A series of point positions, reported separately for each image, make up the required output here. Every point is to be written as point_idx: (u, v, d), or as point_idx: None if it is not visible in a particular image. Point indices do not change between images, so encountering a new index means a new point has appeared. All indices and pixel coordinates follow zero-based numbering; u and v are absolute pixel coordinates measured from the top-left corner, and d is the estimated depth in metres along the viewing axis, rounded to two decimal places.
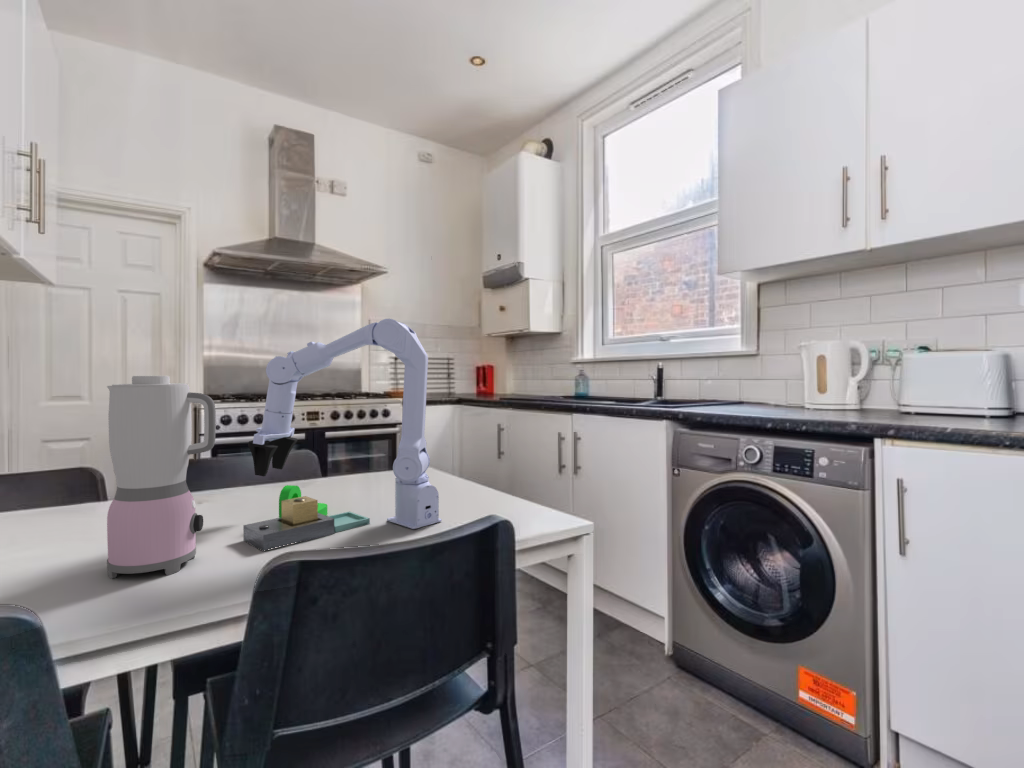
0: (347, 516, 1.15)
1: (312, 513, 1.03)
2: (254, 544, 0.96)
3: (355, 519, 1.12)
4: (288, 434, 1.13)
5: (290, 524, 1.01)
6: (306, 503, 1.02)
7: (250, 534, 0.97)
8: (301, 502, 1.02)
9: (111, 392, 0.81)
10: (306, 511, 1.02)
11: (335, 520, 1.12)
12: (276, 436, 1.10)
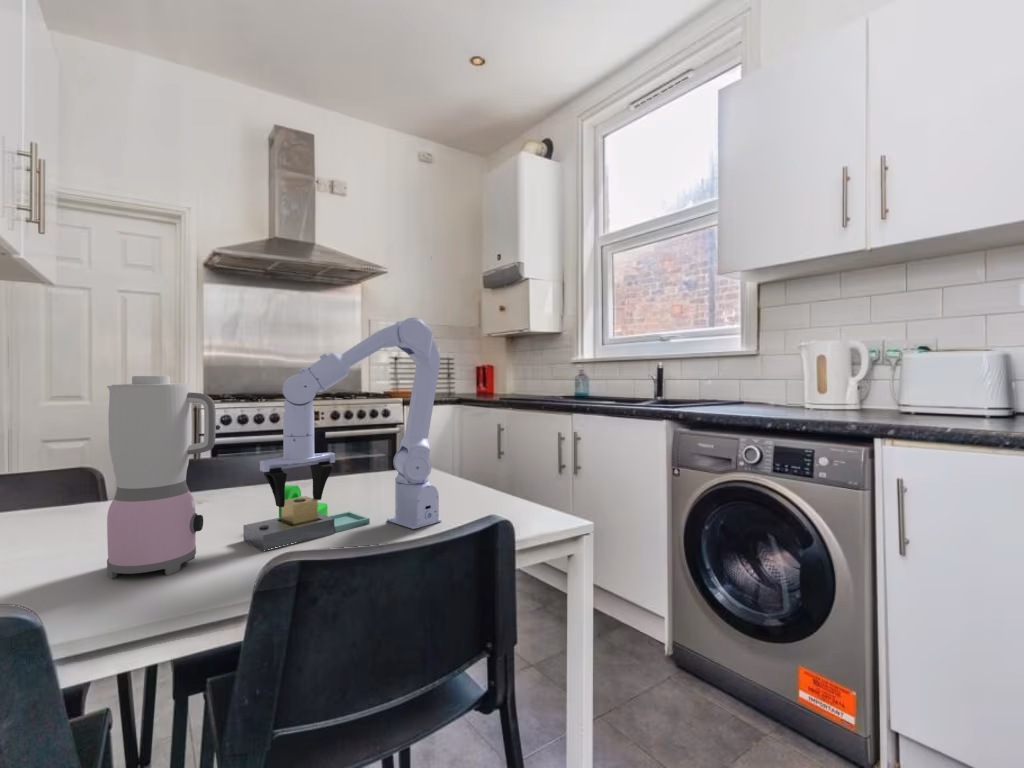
0: (347, 516, 1.15)
1: (312, 513, 1.03)
2: (254, 544, 0.96)
3: (355, 519, 1.12)
4: (305, 460, 1.01)
5: (290, 524, 1.01)
6: (306, 503, 1.02)
7: (250, 534, 0.97)
8: (301, 502, 1.02)
9: (111, 392, 0.81)
10: (306, 511, 1.02)
11: (335, 520, 1.12)
12: (286, 462, 0.99)
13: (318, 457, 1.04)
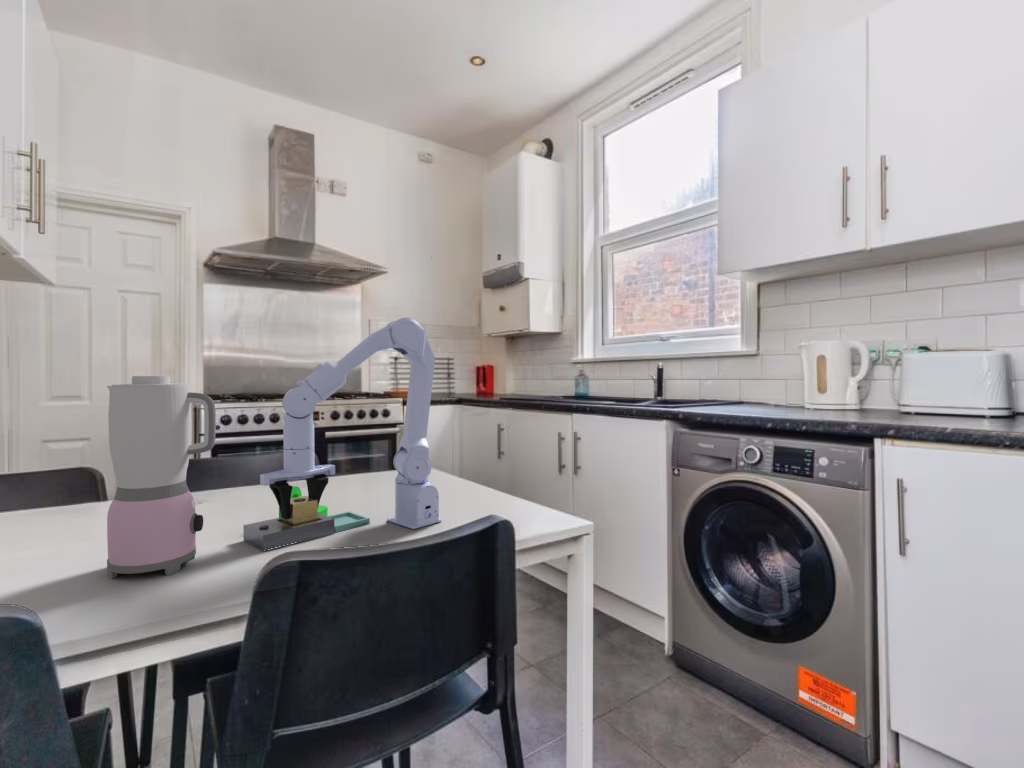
0: (347, 516, 1.15)
1: (312, 513, 1.03)
2: (254, 544, 0.96)
3: (355, 519, 1.12)
4: (305, 473, 1.01)
5: (290, 523, 1.01)
6: (306, 503, 1.02)
7: (250, 534, 0.97)
8: (301, 502, 1.02)
9: (111, 392, 0.81)
10: (306, 510, 1.02)
11: (335, 520, 1.12)
12: (286, 475, 0.99)
13: (318, 470, 1.04)
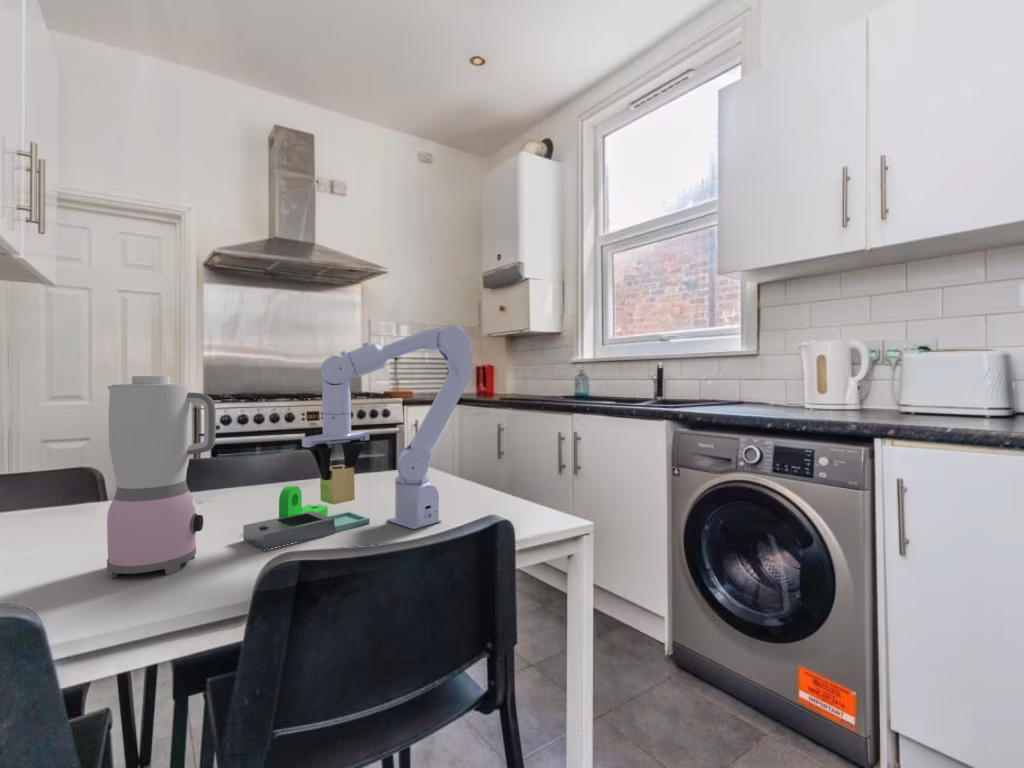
0: (347, 516, 1.15)
1: (349, 480, 1.09)
2: (254, 544, 0.96)
3: (355, 519, 1.12)
4: (344, 436, 1.07)
5: (329, 489, 1.07)
6: (344, 469, 1.08)
7: (250, 534, 0.97)
8: (339, 469, 1.08)
9: (111, 392, 0.81)
10: (344, 477, 1.08)
11: (335, 520, 1.12)
12: (326, 438, 1.05)
13: (355, 434, 1.10)
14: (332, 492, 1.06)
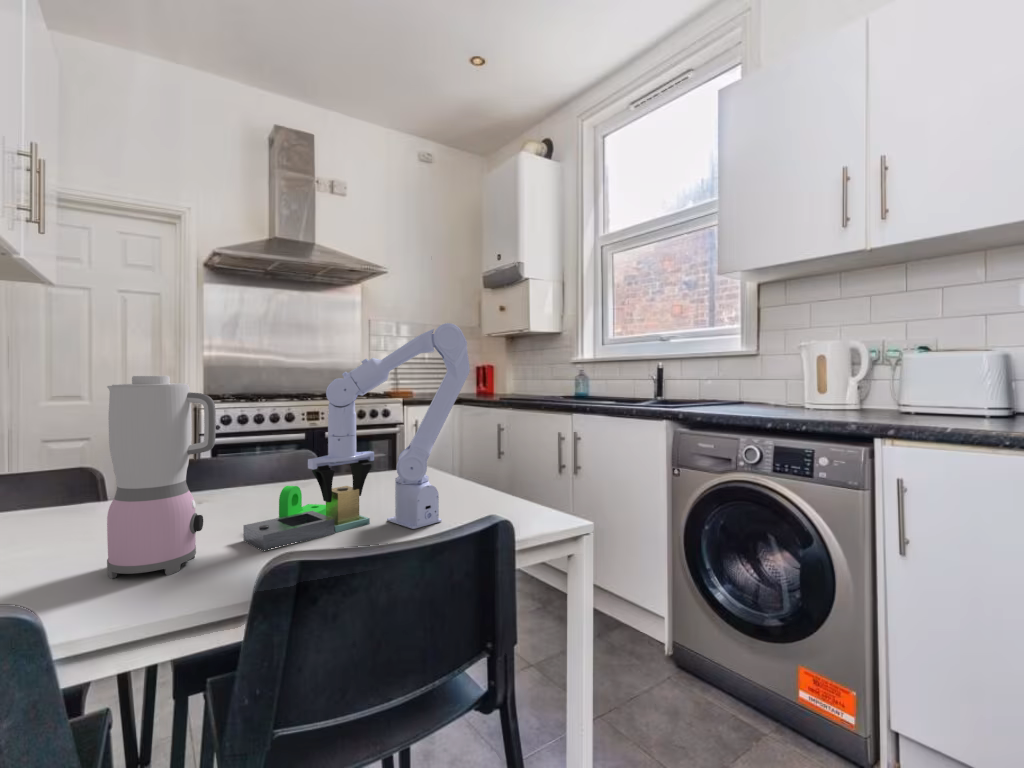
0: None
1: (355, 501, 1.10)
2: (254, 544, 0.96)
3: None
4: (349, 458, 1.08)
5: (334, 511, 1.08)
6: (349, 492, 1.09)
7: (250, 534, 0.97)
8: (344, 491, 1.09)
9: (111, 392, 0.81)
10: (349, 499, 1.09)
11: None
12: (332, 460, 1.06)
13: (360, 455, 1.11)
14: (338, 514, 1.07)
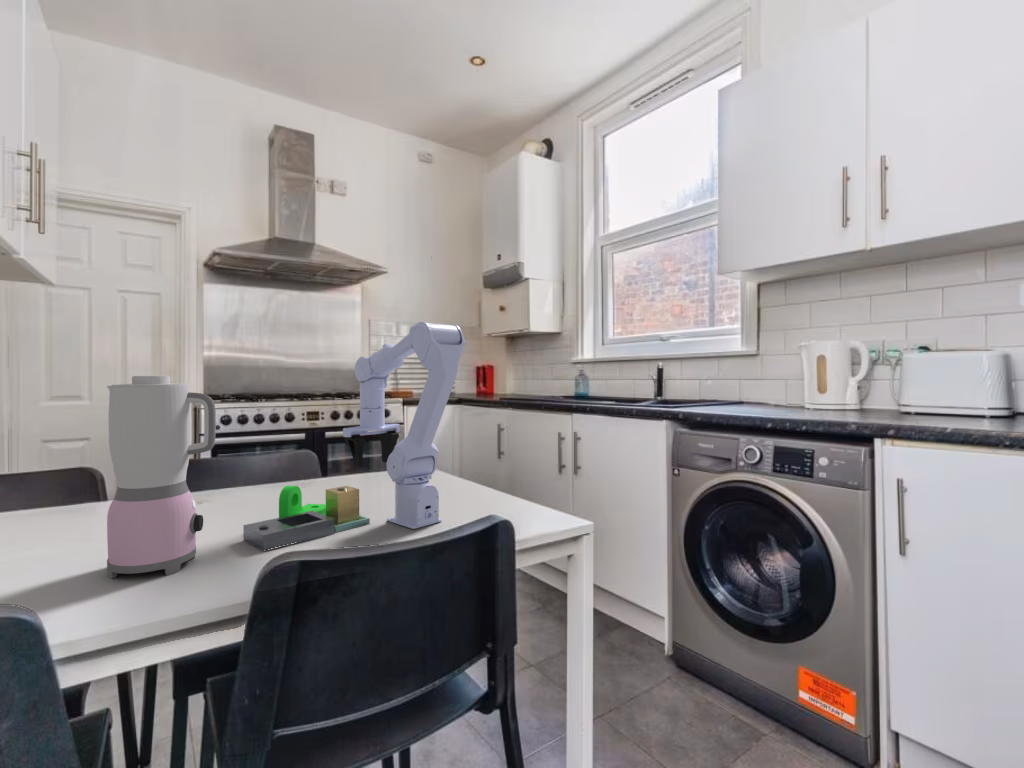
0: None
1: (355, 501, 1.10)
2: (254, 544, 0.96)
3: None
4: (379, 428, 1.21)
5: (334, 511, 1.08)
6: (349, 492, 1.09)
7: (250, 534, 0.97)
8: (344, 491, 1.09)
9: (111, 392, 0.81)
10: (349, 499, 1.09)
11: None
12: (364, 429, 1.19)
13: (388, 426, 1.24)
14: (338, 514, 1.07)
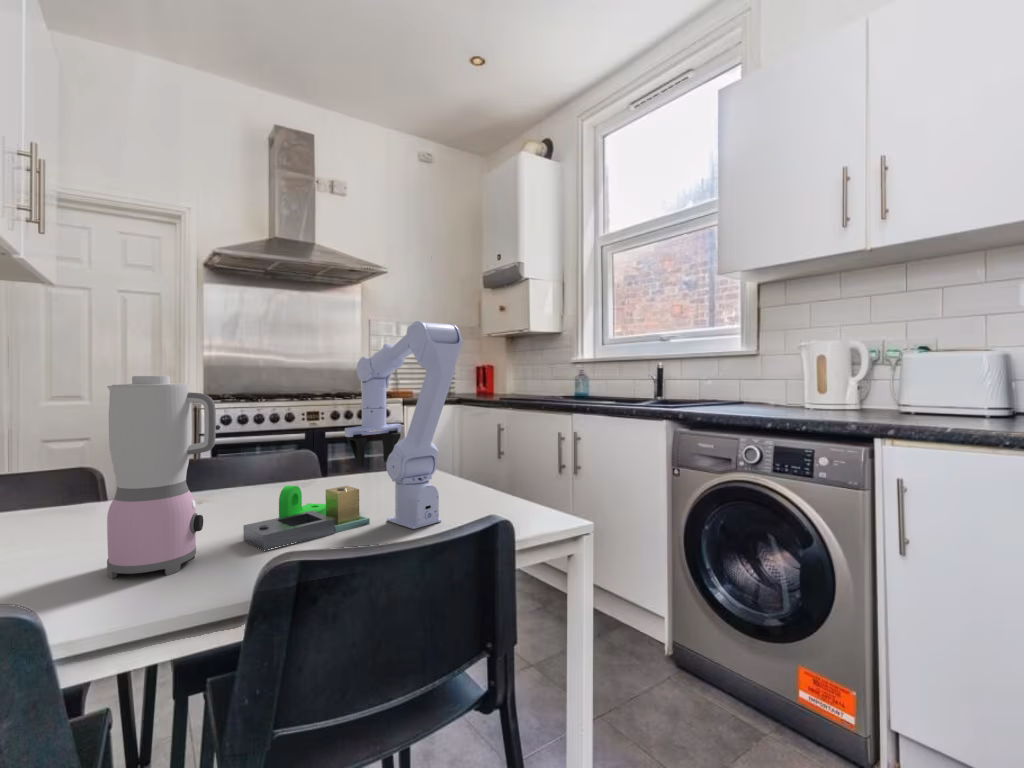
0: None
1: (355, 501, 1.10)
2: (254, 544, 0.96)
3: None
4: (380, 428, 1.22)
5: (334, 511, 1.08)
6: (349, 492, 1.09)
7: (250, 534, 0.97)
8: (344, 491, 1.09)
9: (111, 392, 0.81)
10: (349, 499, 1.09)
11: None
12: (366, 429, 1.20)
13: (389, 426, 1.25)
14: (338, 514, 1.07)
